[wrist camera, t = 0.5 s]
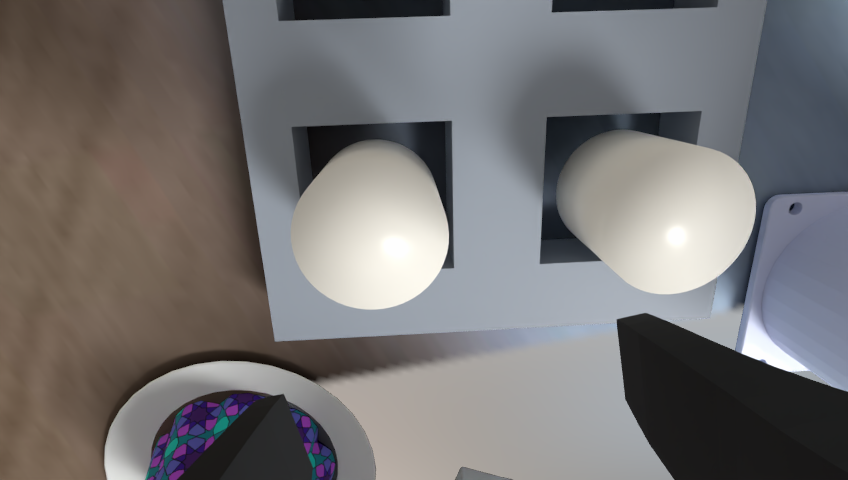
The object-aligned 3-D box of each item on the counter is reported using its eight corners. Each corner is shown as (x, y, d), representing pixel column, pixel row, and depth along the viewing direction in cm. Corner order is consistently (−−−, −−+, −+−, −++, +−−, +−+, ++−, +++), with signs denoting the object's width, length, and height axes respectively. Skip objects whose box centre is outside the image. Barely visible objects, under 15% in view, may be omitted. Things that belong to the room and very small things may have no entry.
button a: (680, 127, 16) (769, 143, 12) (665, 242, 17) (741, 290, 13) (559, 132, 16) (610, 150, 12) (552, 248, 17) (597, 298, 13)
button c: (435, 136, 15) (447, 156, 12) (438, 253, 17) (450, 305, 13) (310, 141, 15) (280, 163, 11) (323, 259, 17) (300, 313, 13)
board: (755, -261, 14) (826, -327, 12) (674, 289, 20) (710, 318, 18) (211, -254, 14) (172, -322, 11) (289, 309, 20) (274, 341, 17)
